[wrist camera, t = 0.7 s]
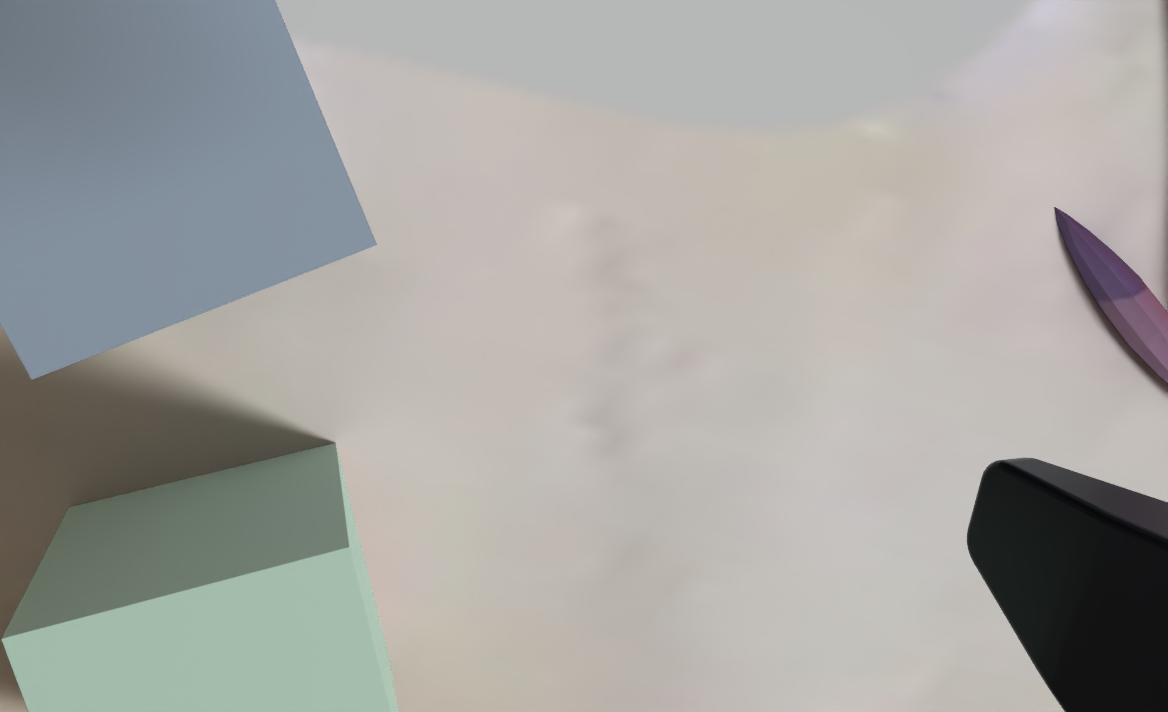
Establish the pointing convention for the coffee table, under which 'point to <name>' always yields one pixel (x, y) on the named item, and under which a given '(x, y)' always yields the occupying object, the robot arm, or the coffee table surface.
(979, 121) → the coffee table surface
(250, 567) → the sage block
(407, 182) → the coffee table surface
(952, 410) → the coffee table surface
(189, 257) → the slate block
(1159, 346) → the toy
